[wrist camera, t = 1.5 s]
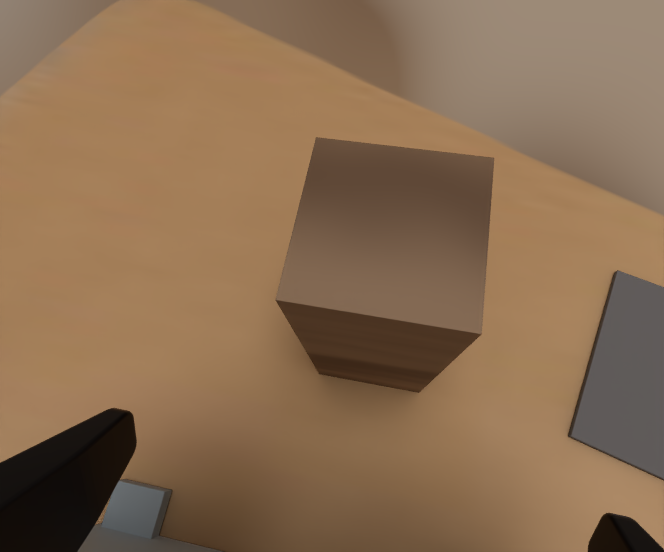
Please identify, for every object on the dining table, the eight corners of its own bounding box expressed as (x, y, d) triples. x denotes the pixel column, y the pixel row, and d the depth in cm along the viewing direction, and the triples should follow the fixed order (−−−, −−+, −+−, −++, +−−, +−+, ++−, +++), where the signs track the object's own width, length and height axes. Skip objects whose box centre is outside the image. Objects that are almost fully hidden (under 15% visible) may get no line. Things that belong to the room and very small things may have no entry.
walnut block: (422, 393, 21) (488, 335, 10) (319, 374, 22) (275, 300, 11) (432, 297, 23) (499, 158, 12) (337, 282, 24) (316, 137, 12)
